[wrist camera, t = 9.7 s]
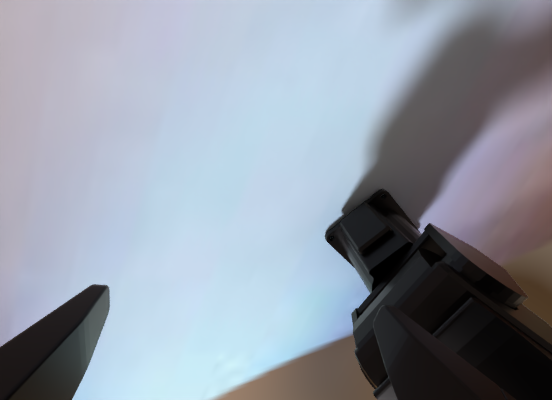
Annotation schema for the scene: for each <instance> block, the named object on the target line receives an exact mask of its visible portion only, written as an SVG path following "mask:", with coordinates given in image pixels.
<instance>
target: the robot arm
mask: <svg viewBox="0 0 552 400" xmlns="http://www.w3.org/2000/svg"><path fill="white" fill-rule="evenodd" d="M383 194H384V196H383V197H382V198H381V195H383ZM424 230H425V231H424V232H423V233H422V234H421V233H420V232H419V230H418V229H417V228H416V227H415V225H414V224H413V223H412V222H411V220H410V219H409V218H408V217H407V215H406V214H405V213H404V212H403V210H402V209H401V208H400V206H399V205H398V204H397V203H396V201H395V200H394V199H393V198H392V196H391V195H390V194H389V193H388V192H387V191H386V190H384V189H381V190H379V191H378V192H376V193H375V194H374V195H373V196H371V197H370V198H369V199H368V200H367V201H365V202H364V203H362V204H361V205H360V206H359V207H357V208H356V209H355V210H354V211H352V212H351V213H350V214H349V215H348V216H346V217H345V218H344V219H343V220H341V222H340V223H338V224H337V225H336V226H335V227H333V228H332V229H331V230H330V231H328V232H327V233H326V235H325V239H326V241H327V242H328V243H329V244H330V245H331V246H332V247H333V248H334V249H335V250H336V251H337V252H338V253H339V254H341V255H342V256H343V257H344V258H345V259H346V260H347V261H348V262H349V263H350V264H351V265H352V266H353V267H354V268H355V269H356V270H357V272H358V274H359V275H360V277H361V279H362V280H363V282H364V284H365V285H366V287H367V289H368V290H369V292H370V295H369V296H368V297H367V298H366V300H365V301H364V302H363V303H362V304H361V305H360V307H359V308H356V309H355V310H354V311H353V312H352V322H353V335H354V338H355V344H356V349H355V356H356V358H357V360H358V362H359V365H360V368H361V370H362V372H363V373H364V375H365V377H366V378H367V380H368V381H369V383H370V384H371V385H372V387H374V389H375V391H374V392H373V394H374V396H375V397H376V398H377V399H378V400H552V327H551V326H550V325H549V324H548V323H547V322H545V321H544V320H543V319H541V318H540V317H539V316H537V315H536V314H535V313H533V312H532V311H531V310H529V309H528V308H527V307H525V306H524V305H523V304H522V303H523V302H524V301H525V300H526V299H527V298H528V296H527V295H526V293H525V292H524V291H523V290H522V289H521V287H520V286H519V285H518V284H517V283H516V282H515V280H514V279H513V278H512V277H511V276H510V275H509V273H508V272H507V271H506V270H505V269H504V268H502V267H501V266H500V265H498V264H497V263H495V262H494V261H492V260H491V259H490V258H488V257H487V256H485V255H484V254H483V253H481V252H480V251H478V250H477V249H475V248H474V247H472V246H470V245H469V244H467V243H465V242H463V241H461V240H459V239H458V238H456V237H454V236H452V235H450V234H449V233H447V232H445V231H443V230H441V229H440V228H438V227H436V226H434V225H432V224H431V223H429V224H428V225H427V226H426V227H425V229H424ZM331 236H333V237H332V238H330V237H331ZM109 307H110V298H109V287H108V286H107V285H96V284H94V285H91V286H89V287H88V288H86V289H85V290H83V291H82V292H81V293H79V294H78V295H76V296H75V297H73V298H72V299H70V300H69V301H67V302H66V303H64V304H63V305H61V306H60V307H58V308H57V309H56V310H54V311H53V312H51V313H50V314H48V315H47V316H45V317H44V318H42V319H41V320H39V321H38V322H36V323H35V324H33V325H32V326H30V327H29V328H28V329H26V330H25V331H23V332H22V333H20V334H19V335H17V336H16V337H14V338H13V339H11V340H10V341H8V342H7V343H5V344H4V345H3V346H1V347H0V400H72V398H73V396H74V394H75V392H76V390H77V388H78V386H79V384H80V383H81V381H82V379H83V376H84V374H85V372H86V370H87V368H88V365H89V363H90V360H91V358H92V355H93V352H94V350H95V347H96V345H97V342H98V339H99V337H100V334H101V331H102V329H103V326H104V323H105V321H106V318H107V316H108V312H109Z"/></svg>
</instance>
